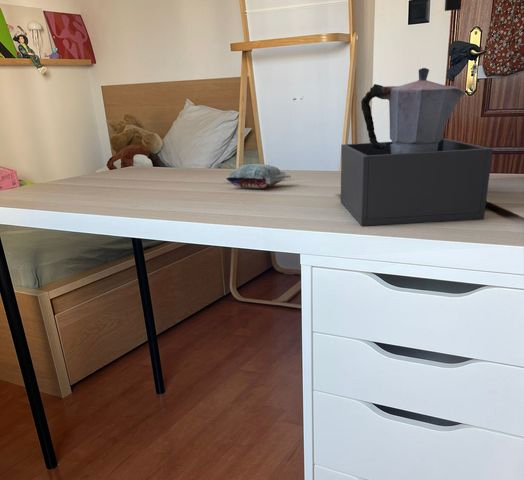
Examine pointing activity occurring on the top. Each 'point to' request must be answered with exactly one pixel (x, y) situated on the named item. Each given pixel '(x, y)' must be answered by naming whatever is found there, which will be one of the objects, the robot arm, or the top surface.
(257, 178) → the packaged food
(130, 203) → the top surface
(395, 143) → the moka pot
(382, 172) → the tub
